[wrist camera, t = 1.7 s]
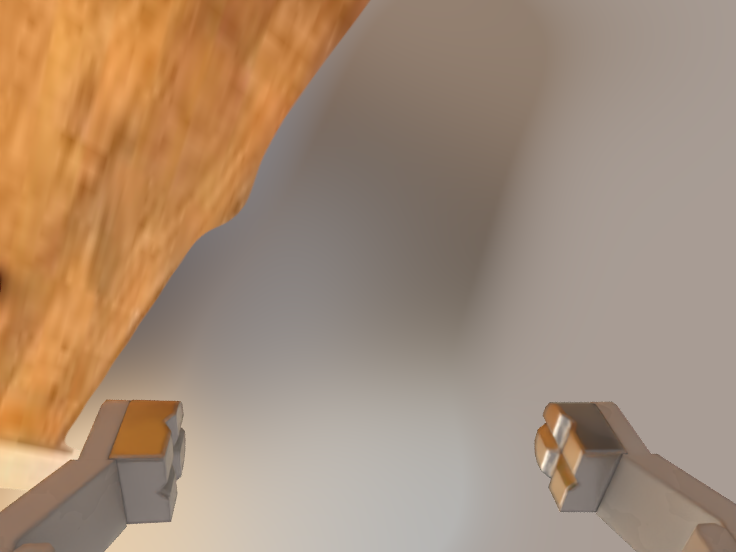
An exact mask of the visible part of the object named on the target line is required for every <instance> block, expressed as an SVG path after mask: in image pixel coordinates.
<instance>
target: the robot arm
mask: <svg viewBox="0 0 736 552" xmlns="http://www.w3.org/2000/svg"><path fill="white" fill-rule="evenodd" d="M543 417H544V419H545V421H546V423H545V424H544V425H543V426H542V427H540V428H539V429H538V430H537V434H536V437H535V456H536V460H537V463H538V465H539V467H540V470H541V471H542V472H543V473H544V474H546V475H547V476H548V477H549V478H551V481H550V484H549V489H550V491H551V493H552V495H553V498H554V500H555V502H556V504H557V506H558V508H559V511H560V512H597V513H596V514H597V515H598V516H599V517H600V518H601V519H602V520H603V521H604V522H605V523H606V524H607V525H609V527H610V528H612V529H613V530H614V531H615V532H616V533H617V534H618V535H619V536H620V537H621V538H622V539H623V540H624V541H625V542H627V543H628V544H629V545H630V546H631V547H632V548H633V549H634V550H635V551H636V552H736V504H735V503H733V502H732V501H730V500H729V499H727V498H726V497H724V496H722V495H721V494H719V493H718V492H716V491H714V490H713V489H711V488H710V487H708V486H707V485H705V484H704V483H702V482H700V481H699V480H697V479H696V478H694V477H692V476H691V475H689V474H688V473H686V472H685V471H683V470H682V469H680V468H678V467H677V466H675V465H674V464H672V463H671V462H669V461H667V460H666V459H664V458H663V457H661V456H660V455H658V454H651V453H650V452H649V450H648V449H647V448H646V446H645V445H644V443H643V442H642V440H641V439H640V437H639V436H638V435H637V433H636V432H635V430H634V429H633V427H632V426H631V425H630V423H629V422H628V420H627V419H626V418H625V416H624V415H623V414H622V412H621V411H620V409H619V408H618V406H617V405H616V404H614V403H613V402H590V403H589V402H550V403H549V404H548V405H547V406H546V407H545V410H544V413H543ZM182 420H183V407H182V402H181V401H155V400H154V401H153V400H152V401H151V400H132V401H130V400H106V401H105V402H104V403H103V404H102V405H101V408H100V410H99V412H98V415H97V417H96V419H95V422H94V424H93V426H92V429H91V431H90V433H89V436H88V438H87V440H86V442H85V445H84V447H83V449H82V451H81V454H80V456H79V458H78V460H70V461H68V462H67V463H65V464H64V465H63V466H61V467H60V468H59V469H57V470H56V471H55V472H53V473H52V474H51V475H49V476H48V477H47V478H45V479H44V480H43V481H41V482H40V483H39V484H37V485H36V486H34V487H33V488H32V489H30V490H29V491H28V492H27V493H25V494H24V495H22V496H21V497H20V498H18V499H17V500H16V501H14V502H13V503H12V504H10V505H9V506H8V507H6V508H5V509H4V510H2V511H1V512H0V552H104V551H105V550H106V549H107V548H108V547H109V546H110V545H111V544H112V542H113V541H114V540H115V539H116V538H117V537H118V536H119V535H120V534H121V532H122V531H123V530H124V529H125V528H126V527H127V526H126V524H138V523H158V522H171V519H172V515H173V511H174V506H175V502H176V497H177V485H176V480H177V479H179V478H180V477H181V475H182V470H183V464H184V457H185V431H184V430H183V429H182V428H181V424H182Z"/></svg>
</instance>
